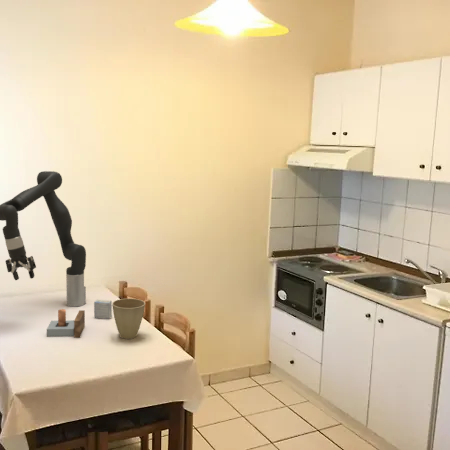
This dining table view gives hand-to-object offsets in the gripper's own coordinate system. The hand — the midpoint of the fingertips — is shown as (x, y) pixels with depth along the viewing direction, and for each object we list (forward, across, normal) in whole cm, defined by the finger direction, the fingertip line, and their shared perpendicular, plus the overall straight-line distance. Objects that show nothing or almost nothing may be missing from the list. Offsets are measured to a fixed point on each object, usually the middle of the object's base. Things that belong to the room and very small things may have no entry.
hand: (24, 278), depth 268 cm
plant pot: (+33, -46, 0) cm, 57 cm away
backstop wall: (+28, -23, +2) cm, 36 cm away
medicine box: (+31, -23, -20) cm, 44 cm away
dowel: (+26, -16, +5) cm, 31 cm away
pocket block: (+27, -16, +5) cm, 32 cm away
